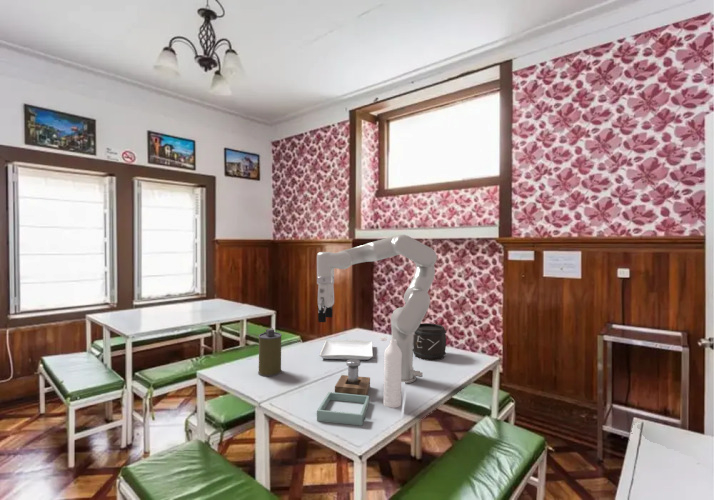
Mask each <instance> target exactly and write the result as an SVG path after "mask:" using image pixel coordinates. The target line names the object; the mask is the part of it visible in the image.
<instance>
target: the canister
mask: <svg viewBox="0 0 714 500" xmlns="http://www.w3.org/2000/svg"><path fill="white" fill-rule="evenodd" d="M282 336H283V335H282V333H280V332H277V331H276V332H275V329H274V328H273V327H272V328H271V327H270V328H266V329H265V331H263V332H262V333H260V334H258V371H257V374H258V375H259V376H261V377H275V376H278V375H280V374H281V373H282Z"/></svg>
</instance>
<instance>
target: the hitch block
mask: <svg viewBox="0 0 714 500" xmlns="http://www.w3.org/2000/svg"><path fill="white" fill-rule="evenodd" d="M370 388H371V377H369V376H359V375H358V385H352V384H348V374H347V375H345V374H341V376H340V377H339V379H338V381H337V382H336V384H335V386H334V393H345V394H355V395H366V396H368V394H369V391H370Z"/></svg>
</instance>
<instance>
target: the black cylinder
mask: <svg viewBox="0 0 714 500" xmlns="http://www.w3.org/2000/svg"><path fill="white" fill-rule="evenodd" d="M446 335H447V331H446V328H445V327H444V325H441V324H437V323H428V322H426V323H425V322H424V323H422V322H421V323H420V325H419V327H418V329H417V330H416V331H415V332H414V333H413V354H414V356H415V357H416V358H418V359H420V360H424V359H425V360H427V361H440V360H442V359H444V358H445V356H446V354H447V352H446V350H447V349H446V348H447V336H446Z"/></svg>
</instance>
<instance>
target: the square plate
mask: <svg viewBox="0 0 714 500" xmlns="http://www.w3.org/2000/svg"><path fill="white" fill-rule="evenodd" d="M373 343H374V342H373V341H372V340H371V341H370V340H356V339H355V340H354V339H352V340H351V339H350V340H349V339H329V340H328V339H327V340H325V341H324V344H323V346H322V348H321V351H320V352H319V357H320V358H321V359H325V360H346V361H347V360H349V359H357V360H360V361H363V360H364V361H366V360H367V361H368V360H370V359H372V357H374V354H373V353H374V352H373Z"/></svg>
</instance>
